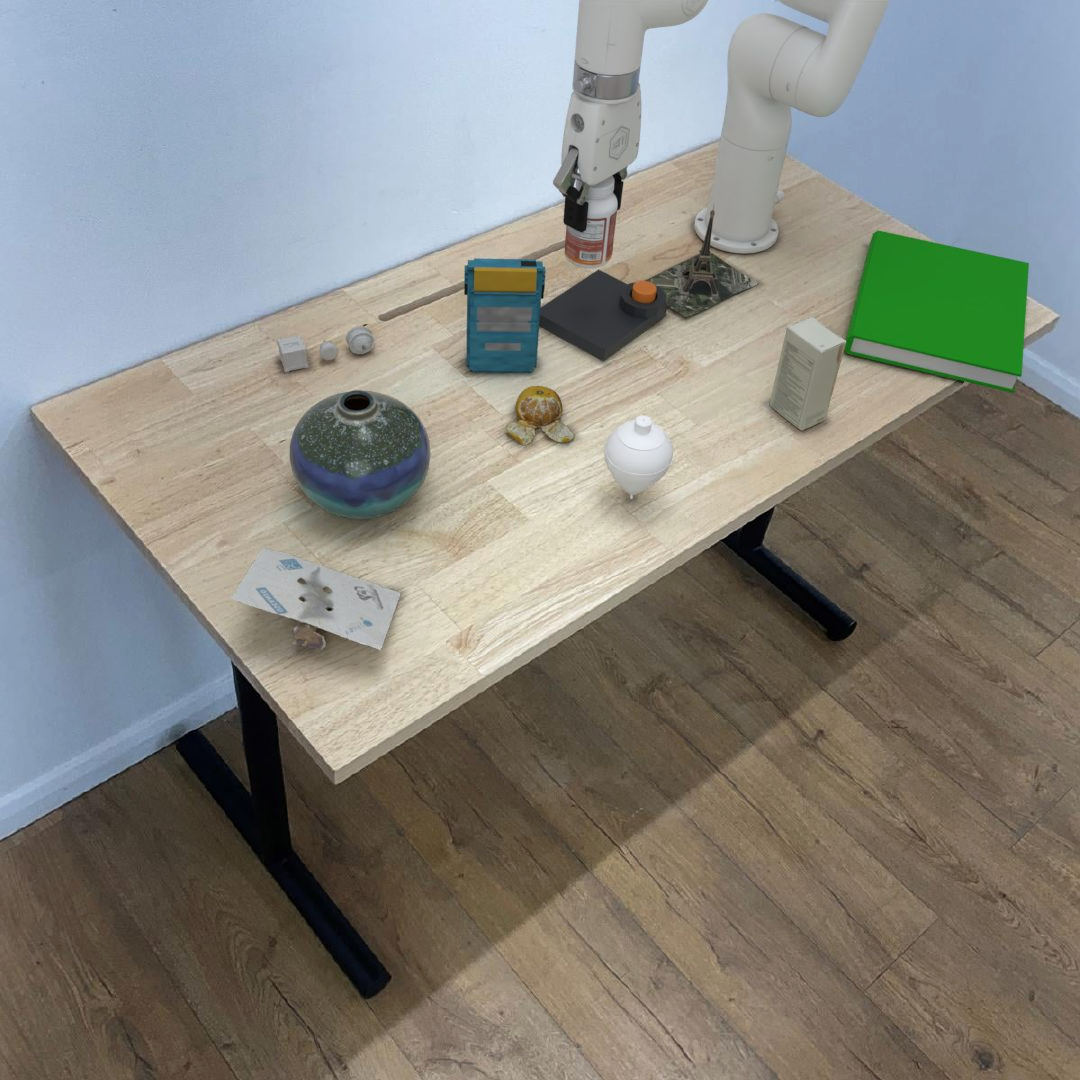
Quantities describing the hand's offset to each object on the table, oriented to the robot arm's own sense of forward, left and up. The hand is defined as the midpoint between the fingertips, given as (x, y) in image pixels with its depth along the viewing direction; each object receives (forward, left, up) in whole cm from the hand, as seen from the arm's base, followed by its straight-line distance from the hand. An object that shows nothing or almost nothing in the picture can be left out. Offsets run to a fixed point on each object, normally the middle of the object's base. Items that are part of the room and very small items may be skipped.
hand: (592, 215), depth 146 cm
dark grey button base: (-3, +1, -17) cm, 17 cm away
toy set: (+29, -17, -15) cm, 37 cm away
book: (-37, +35, -17) cm, 53 cm away
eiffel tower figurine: (-19, +6, -17) cm, 26 cm away
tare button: (-7, +5, -13) cm, 16 cm away
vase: (+43, +2, -17) cm, 46 cm away
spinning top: (+22, +25, -17) cm, 38 cm away
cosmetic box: (-5, +31, -17) cm, 36 cm away
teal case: (+14, -2, -17) cm, 22 cm away
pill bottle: (0, 0, -6) cm, 6 cm away
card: (+62, +12, -17) cm, 65 cm away
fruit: (+20, +9, -17) cm, 28 cm away
